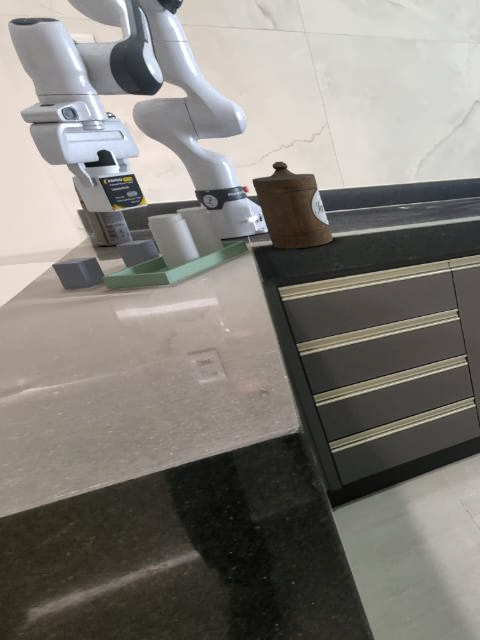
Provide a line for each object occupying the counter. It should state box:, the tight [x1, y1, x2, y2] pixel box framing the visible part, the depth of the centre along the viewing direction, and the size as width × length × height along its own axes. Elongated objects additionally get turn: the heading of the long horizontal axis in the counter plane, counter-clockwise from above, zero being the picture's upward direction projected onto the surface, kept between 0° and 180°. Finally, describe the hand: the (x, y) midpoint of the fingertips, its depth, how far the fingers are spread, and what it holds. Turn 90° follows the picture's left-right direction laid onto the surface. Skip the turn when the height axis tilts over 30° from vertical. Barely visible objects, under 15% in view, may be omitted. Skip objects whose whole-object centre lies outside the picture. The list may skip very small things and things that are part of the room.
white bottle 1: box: [147, 213, 200, 270], centre depth 126 cm, size 7×7×12 cm
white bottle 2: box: [176, 206, 224, 257], centre depth 135 cm, size 7×7×12 cm
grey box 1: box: [51, 256, 106, 290], centre depth 116 cm, size 5×5×6 cm
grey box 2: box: [115, 239, 161, 268], centre depth 132 cm, size 5×5×6 cm
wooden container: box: [251, 161, 334, 250], centre depth 145 cm, size 15×15×22 cm
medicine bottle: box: [71, 150, 148, 212], centre depth 111 cm, size 7×7×12 cm
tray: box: [102, 240, 249, 289], centre depth 128 cm, size 32×13×3 cm, turn 7°
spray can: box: [72, 180, 134, 246], centre depth 158 cm, size 8×8×20 cm
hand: (108, 184), depth 111 cm, fingers closed on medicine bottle, 8 cm apart
